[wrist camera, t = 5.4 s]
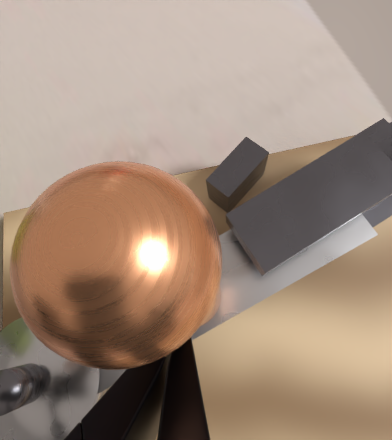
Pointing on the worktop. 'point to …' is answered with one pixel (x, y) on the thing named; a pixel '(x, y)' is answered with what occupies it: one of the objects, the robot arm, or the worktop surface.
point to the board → (292, 337)
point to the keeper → (304, 195)
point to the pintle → (20, 386)
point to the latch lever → (126, 284)
